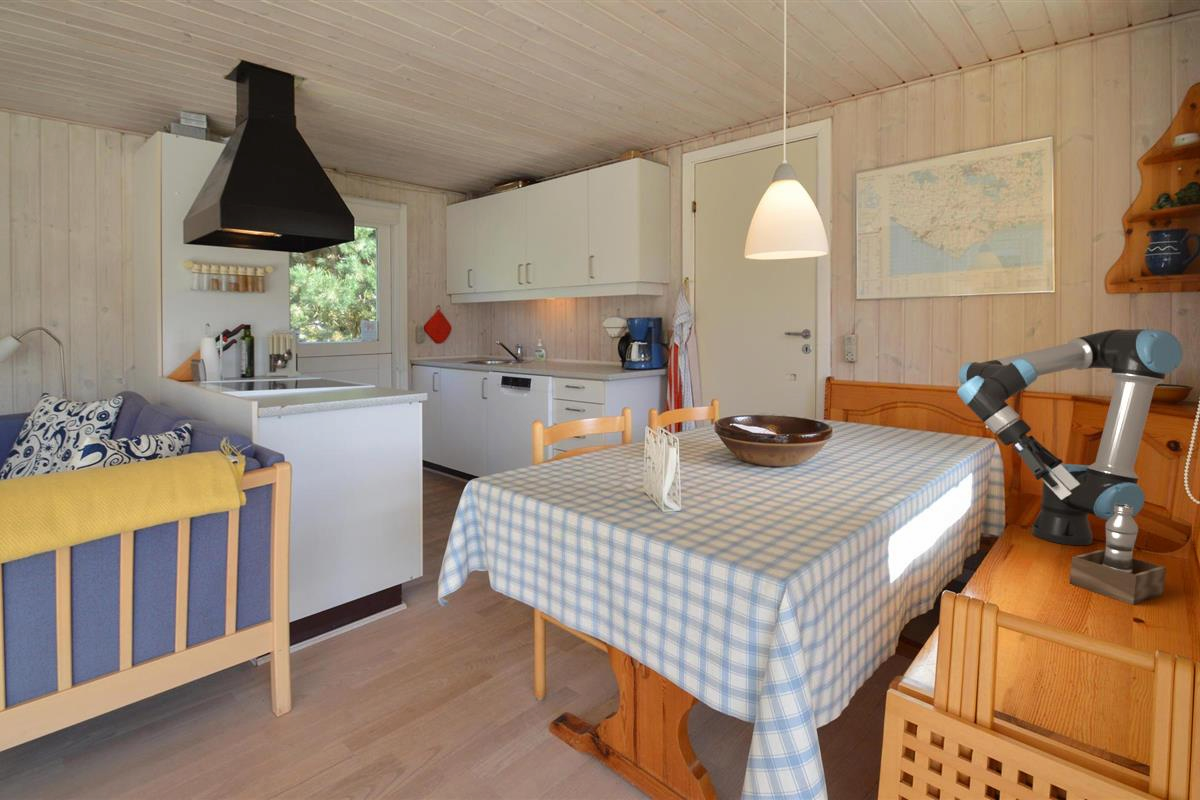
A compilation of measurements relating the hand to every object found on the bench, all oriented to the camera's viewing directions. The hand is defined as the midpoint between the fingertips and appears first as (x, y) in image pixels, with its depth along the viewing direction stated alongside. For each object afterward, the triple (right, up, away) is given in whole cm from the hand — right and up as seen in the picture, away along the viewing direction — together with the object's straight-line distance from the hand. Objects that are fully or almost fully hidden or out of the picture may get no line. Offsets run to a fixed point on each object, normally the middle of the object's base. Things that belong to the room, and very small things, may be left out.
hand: (1071, 491), depth 163 cm
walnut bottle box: (+7, -23, -5) cm, 25 cm away
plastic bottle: (+8, -23, -4) cm, 24 cm away
